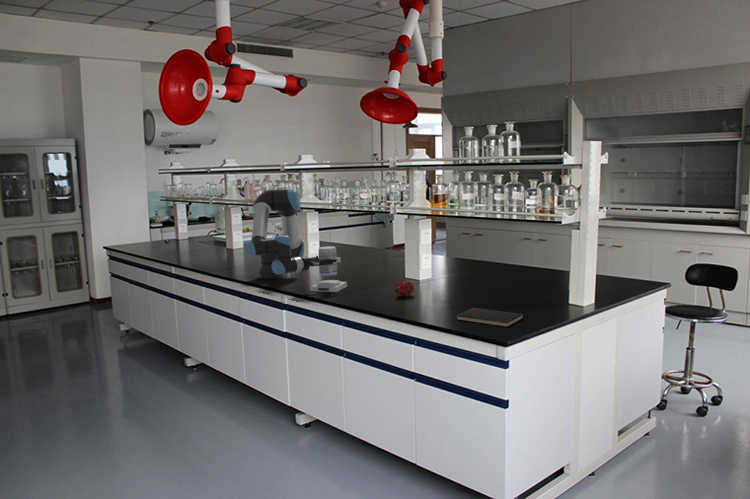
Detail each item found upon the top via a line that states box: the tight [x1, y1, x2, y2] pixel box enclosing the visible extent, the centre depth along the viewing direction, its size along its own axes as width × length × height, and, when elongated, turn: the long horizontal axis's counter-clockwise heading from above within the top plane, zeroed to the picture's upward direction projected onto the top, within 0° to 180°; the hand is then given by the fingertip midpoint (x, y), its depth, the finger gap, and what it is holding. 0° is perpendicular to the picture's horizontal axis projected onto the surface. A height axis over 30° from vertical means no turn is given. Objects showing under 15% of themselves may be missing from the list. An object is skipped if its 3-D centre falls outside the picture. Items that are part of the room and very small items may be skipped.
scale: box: [309, 279, 348, 293], centre depth 320 cm, size 15×15×4 cm
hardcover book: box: [455, 307, 524, 327], centre depth 248 cm, size 16×23×2 cm
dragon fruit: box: [394, 280, 415, 298], centre depth 296 cm, size 8×8×12 cm
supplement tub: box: [318, 245, 338, 277], centre depth 319 cm, size 10×10×15 cm
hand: (334, 258), depth 321 cm, fingers closed on supplement tub, 9 cm apart
